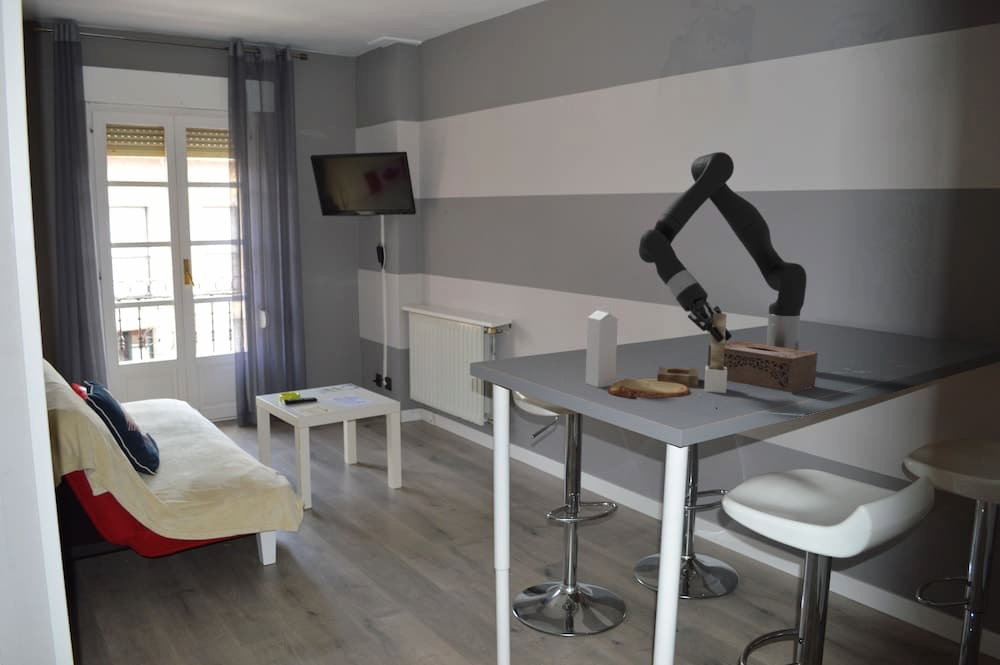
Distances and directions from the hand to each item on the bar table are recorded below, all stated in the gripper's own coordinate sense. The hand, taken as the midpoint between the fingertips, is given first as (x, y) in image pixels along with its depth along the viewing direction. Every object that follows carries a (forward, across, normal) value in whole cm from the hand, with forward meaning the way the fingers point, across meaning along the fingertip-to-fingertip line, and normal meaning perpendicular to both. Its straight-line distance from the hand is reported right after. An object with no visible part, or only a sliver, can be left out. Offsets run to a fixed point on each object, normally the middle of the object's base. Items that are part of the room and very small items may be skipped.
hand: (725, 339), depth 211 cm
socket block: (0, +2, +21) cm, 21 cm away
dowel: (+5, 0, +7) cm, 9 cm away
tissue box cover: (+11, +21, +10) cm, 26 cm away
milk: (-10, -16, +31) cm, 36 cm away
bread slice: (+1, -15, +20) cm, 25 cm away
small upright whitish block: (+9, 0, +12) cm, 15 cm away
